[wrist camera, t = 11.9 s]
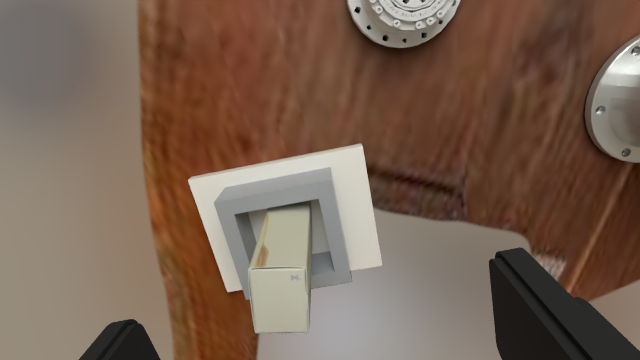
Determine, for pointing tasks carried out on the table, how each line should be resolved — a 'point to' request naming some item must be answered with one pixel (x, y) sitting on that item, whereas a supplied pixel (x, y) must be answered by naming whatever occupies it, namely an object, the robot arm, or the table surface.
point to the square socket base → (286, 188)
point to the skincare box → (282, 271)
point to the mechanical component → (402, 19)
